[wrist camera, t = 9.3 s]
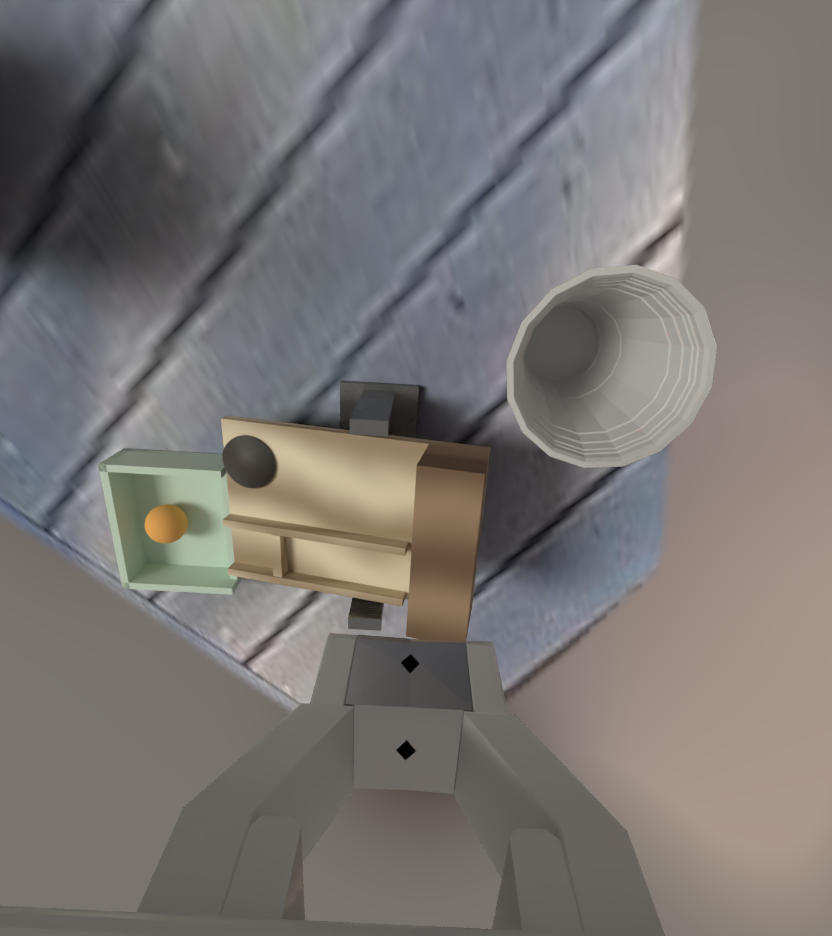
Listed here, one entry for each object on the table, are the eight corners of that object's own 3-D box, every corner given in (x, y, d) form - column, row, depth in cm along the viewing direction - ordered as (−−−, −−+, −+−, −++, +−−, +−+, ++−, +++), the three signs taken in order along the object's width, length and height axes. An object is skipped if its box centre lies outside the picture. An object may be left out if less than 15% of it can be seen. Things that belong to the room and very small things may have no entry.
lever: (227, 415, 36) (185, 435, 32) (490, 447, 33) (485, 474, 29) (240, 563, 41) (205, 598, 37) (472, 603, 38) (464, 647, 33)
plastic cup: (496, 256, 35) (529, 251, 24) (647, 274, 36) (748, 278, 24) (472, 405, 39) (491, 460, 28) (608, 420, 40) (680, 481, 29)
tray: (123, 448, 41) (98, 464, 38) (236, 454, 41) (220, 471, 38) (144, 565, 45) (122, 588, 42) (246, 570, 45) (232, 594, 42)
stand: (341, 380, 39) (320, 410, 31) (419, 385, 39) (417, 415, 31) (341, 568, 45) (323, 632, 37) (408, 571, 45) (404, 636, 37)
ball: (152, 497, 42) (134, 515, 39) (191, 498, 42) (177, 516, 39) (157, 530, 43) (140, 550, 40) (195, 531, 44) (181, 551, 41)
